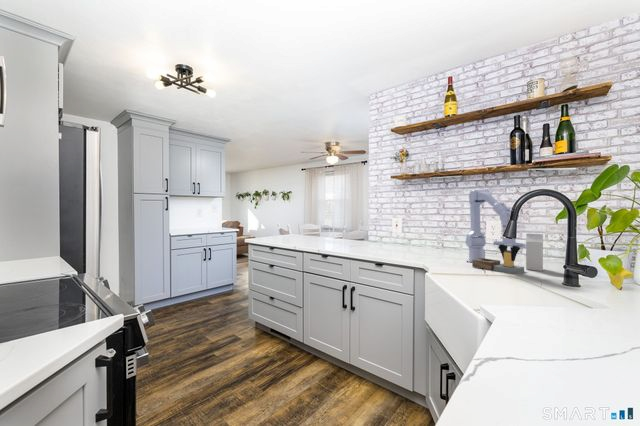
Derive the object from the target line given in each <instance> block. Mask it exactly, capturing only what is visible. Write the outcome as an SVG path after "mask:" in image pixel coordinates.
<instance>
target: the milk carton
mask: <svg viewBox="0 0 640 426" xmlns="http://www.w3.org/2000/svg"><path fill="white" fill-rule="evenodd" d="M525 235H526V238H525V239H526V240H525V244H526V248H525V270H531V271H538V272H540V271H542V272H543V271H544V234H543V233H526V234H525Z"/></svg>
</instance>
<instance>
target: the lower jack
mask: <svg viewBox="0 0 640 426" xmlns="http://www.w3.org/2000/svg"><path fill="white" fill-rule="evenodd" d="M493 271H494V272H499V273H506V274H512V275H513V274H514V275H517V274H520V273H524V272H525V266H520V265H515V264H514V266H513V267H508V266H504V263H500V265H495V266H494V269H493Z"/></svg>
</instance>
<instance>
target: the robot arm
mask: <svg viewBox="0 0 640 426" xmlns="http://www.w3.org/2000/svg"><path fill="white" fill-rule="evenodd" d="M468 199H469V201H468V202H469V213H470V215H469V218H470V219H469V220H470V221H469V222H470V223H469V224H470V232H468V233H467V234H466V237H465V244H466V245H465V246H467V248H468V260H466V261H468V263H472V260H474V259H480V258H485V259H486V250H485V248H484V247H485V246H486V243H487V242H486V236H485V234H484V233H483V232H482V231H481V205H482V204H484V203H485V202H487V203H488V204H489V205H490V206H491V207H492V210H493V211H494V212H495V214H496V215H498V216H499V220H500V222H501V226H502V234H503V233H504V231H505V228H506V226H507V224H508V222H509V218H510V214H511V208H509V207H508V206H507V205H506V204H505V203H504V202H501V201H500V202H499V201H498V200H497V199H496V198H495V197H494V196H493V195H492V192H491V191H490V190H489V189H472V190H471V191H469V193H468ZM518 220H519V215H518V218H517V221H518ZM516 238H517V237H516ZM516 238H515V239H507V238H504V237H503V236H502V241H497V240H496V241H494V240H493V242H492V243H493V244H492V245H493V246H498V247H497V248H498V249H499V251H500V254H501V256H502V260H503V261H504V251H505V250H508V247H510V248H509V249H510V251H511V260H512V261H514V262H515V261H516V257H517V254H518V253H519V251H520V249H521V248H523V249H524V248H525V249H526V243H521V242H520V243H519V242H516V241H517V239H516Z"/></svg>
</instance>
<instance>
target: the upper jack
mask: <svg viewBox="0 0 640 426" xmlns="http://www.w3.org/2000/svg"><path fill="white" fill-rule="evenodd" d="M471 263H472V266H473V267H472V268H475V267H478V268H477V269H481V268H483V269H482V270H489V271H494V266H495V265H500V264H501V260H499V259H498V260H497V259H490V258H486V257H485V258H480V259H474V260H472V262H471Z"/></svg>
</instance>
